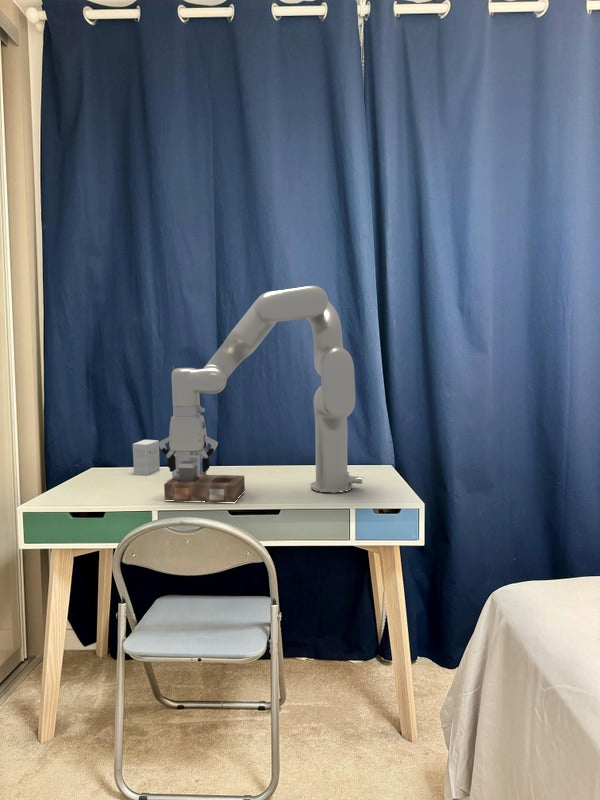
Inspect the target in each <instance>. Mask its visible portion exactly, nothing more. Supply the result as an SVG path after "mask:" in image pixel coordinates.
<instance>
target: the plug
mask: <svg viewBox="0 0 600 800" xmlns="http://www.w3.org/2000/svg"><path fill="white" fill-rule="evenodd" d="M196 480H198V475H197V461H182V462H181V463H179V481H180V482H195V481H196Z"/></svg>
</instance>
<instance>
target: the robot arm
mask: <svg viewBox="0 0 600 800" xmlns="http://www.w3.org/2000/svg"><path fill="white" fill-rule="evenodd" d="M301 319H302V320H303V319H306V320H307V321H308V322H309V323H310V324H309V325H310V327H311V329H312V330H311V332H312V337H313V358H314V359H313V363H314V369H315V371H316V373H317V374H318V375H319V376H320V380H321V381H320V382H321V385H320V386H319V387H318V388H317V389H316V391H315V393H314V396H313V413H314V423H315V424H314V425H315V426H314V427H315V432H314V433H315V434H314V435H315V481H313V482H311V483H310V489H311V490H312V489H313V490H312V491H314V490H315V491H314V492H317V491H320V492H319V493H321V492H340V491H346V490H349V489H351V488H352V487H353V484H356V485H363V477H362V476H361V477H360V476H358V475H357V476H356V475H355V476H353V475H350V471H348V433H349V432H348V417H349V416H350V415H351V413H352V412H354V409H355V406H356V383H355V381H356V379H355V365H354V361H353V357H352V355H351V354H350V353H349V351H348V350H347V349H345V348H344V342H343V339H344V338H343V331H342V323H341V319H340V316H339V314H338V311H337V310H336V309H335V307H334V305H333V304H332V303H331V302H330V301H329V297H328V294H327V292H326V291H325V290H324V289H323V288H322V287H319V286H318V285H307V286H302V287H301V286H300V287H296V288H295V287H294V288H288V289H280V290H270V291H266V292H264V293H263V294H260V295H259V296H258V297H257V298H256V300H255V301H254V302H253V303H252V305H251V306H250V308H249V309H247V311H246V313H244V315H243V316H242V317H241V319H240V320H239V321H238V323H236V325H235V327H234V328H233V329H232V330H231V331H230V333H229V334H228V335H227V337H226V338H225V340H224V342H223V343H222V344H221V345H220V347H219V348H218V349H217V351H216V352H215V353H214V354H213V355H212V357H211V358H210V359H209V361H208V362H207V363H206V364H205V366H204V367H203V368H198V369H197V368H194V367H177V368H173V370H172V371H171V390H172V391H171V393H172V412H173V413H172V416H171V417H170V422H169V432H168V433H169V435H168V437H165V438H163V439H161V440H160V441H159V443H158V445H159V449H160V450H161V452H162V453H163V454H164V455H165V456H166V458H167V463H168V464H167V465H168V466H167V467H168V469H169V472H171V473H172V471H174V470H175V469H176V459H175V456H174V454H175V452H200V453H201V454H202V455H203V459H202V469H203V472H206V473H207V472H208V471H209V469H210V465H211V464H210V456H211V455H213V454H214V452H215V451H216V448H218V444H219V442H218V441H217V440H215V439H213V438H210V437H209V436H207V428H206V422H205V417H204V415H202V413H206V412H205V411H206V409H205V407H202V406H201V401H200V400H201V399H200V398H201V397H200V394H210V395H214V394H219V393H221V392H222V391H223V390H224V389H225V387H226V385H227V380H228V379H229V377H230V376H231V374H233V372H234V371H235V369H237V367H238V366H239V365H240V364H241V363H242V362H243V361H244V360H245V359H247V358H248V357H249V356H250V355H252V354H253V353H254V351H256V350H257V349H258V347H259V346H260V345H261V343H262V342H263V340H264V339H265V338H266V337H267V335H268V334H269V333H270V332H271V330H273V328H274V327H275V325H276V324H277V323H279V322H287V321H294V320H301ZM166 444H168V446H169V448H167V445H166ZM208 444H209V445H211V446H210V448H209V450H208ZM353 488H354V487H353ZM353 488H352V489H353Z"/></svg>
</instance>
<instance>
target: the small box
mask: <svg viewBox="0 0 600 800" xmlns="http://www.w3.org/2000/svg"><path fill="white" fill-rule="evenodd" d="M159 442H160V441H159V439H157V440H155V439H142V440H139V441H137V442H135V443H132V455H133V475H138V476H139V475H140V476H149V475H151V474H154V473H156V472H158V471H160V466H161V465H160V463H161V462H160V446H159V445H158V443H159Z"/></svg>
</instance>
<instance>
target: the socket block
mask: <svg viewBox="0 0 600 800" xmlns="http://www.w3.org/2000/svg"><path fill="white" fill-rule="evenodd" d="M245 482H246V481H245V475H232V474H231V475H230V474H229V475H228V474H206V475H198V480H196V481H195V482H180V481H179V474H178V475H177V476H175V477H174V478H172V477H171V479H170V480H167V482H165V483H164V485H163V486H164V487H163V488H164V489H163V490H164V492H163V493H164V501H165V500H174V501H201V502H202V501H205V502H235V501H236V500H237V499H238V497H239V496H240V495H241V494H242V493H243V492H244V491H245V489H246V488H245V485H246V484H245ZM245 492H246V491H245ZM238 500H239V499H238Z"/></svg>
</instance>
